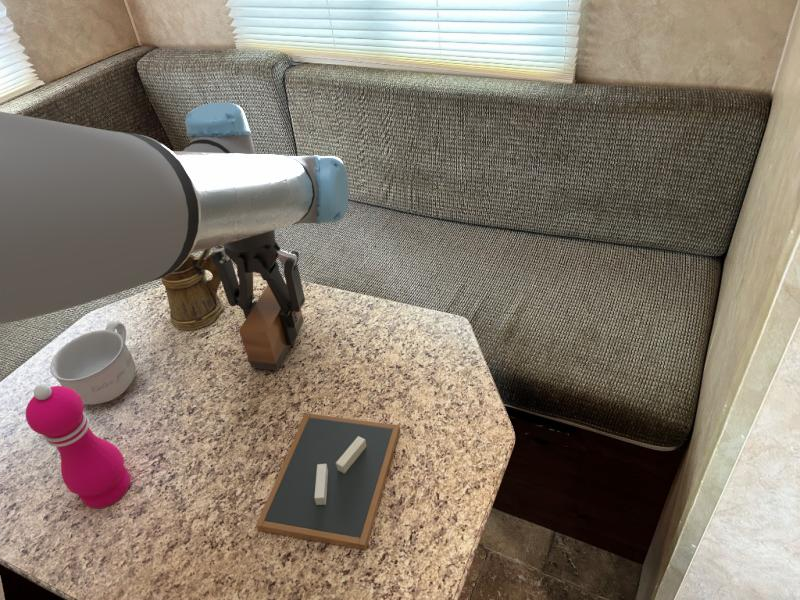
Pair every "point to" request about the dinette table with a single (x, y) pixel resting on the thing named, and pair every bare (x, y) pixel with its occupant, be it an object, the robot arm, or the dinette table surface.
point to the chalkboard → (331, 482)
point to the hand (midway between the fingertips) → (276, 338)
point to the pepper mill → (78, 446)
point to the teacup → (96, 364)
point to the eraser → (266, 333)
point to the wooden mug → (193, 293)
